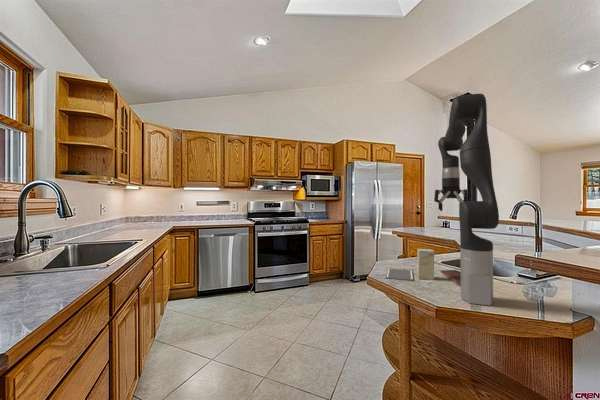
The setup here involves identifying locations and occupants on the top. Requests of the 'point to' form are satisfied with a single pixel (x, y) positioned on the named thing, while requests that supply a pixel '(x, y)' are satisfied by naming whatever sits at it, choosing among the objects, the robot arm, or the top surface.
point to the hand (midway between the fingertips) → (450, 211)
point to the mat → (400, 274)
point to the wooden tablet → (453, 275)
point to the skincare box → (425, 264)
